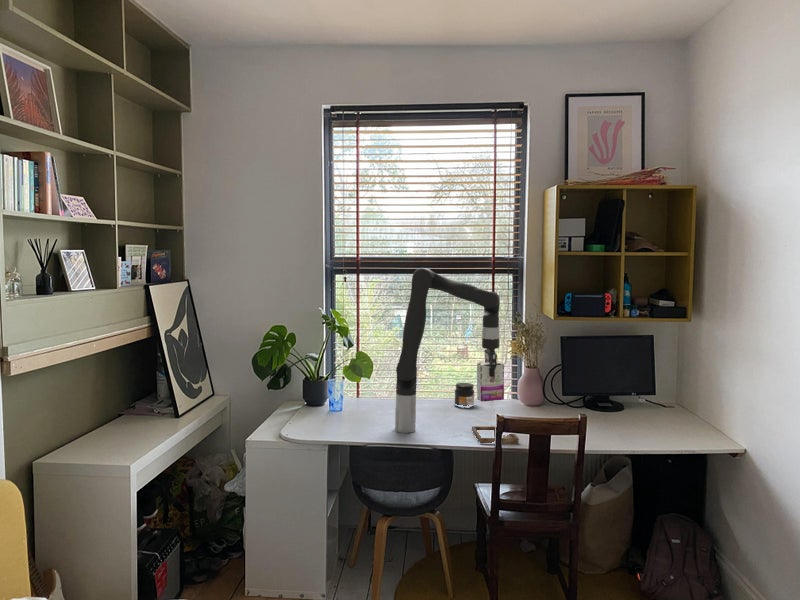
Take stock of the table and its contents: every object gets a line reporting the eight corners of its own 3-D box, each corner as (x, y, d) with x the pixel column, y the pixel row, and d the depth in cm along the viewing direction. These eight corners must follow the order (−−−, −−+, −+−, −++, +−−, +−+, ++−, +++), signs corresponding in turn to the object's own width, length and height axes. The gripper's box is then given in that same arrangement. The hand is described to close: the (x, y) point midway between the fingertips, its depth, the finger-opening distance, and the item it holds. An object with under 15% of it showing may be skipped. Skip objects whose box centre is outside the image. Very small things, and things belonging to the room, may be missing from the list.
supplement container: (472, 409, 290) (473, 387, 289) (453, 408, 292) (453, 386, 291) (474, 404, 300) (475, 383, 299) (455, 403, 302) (456, 381, 301)
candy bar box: (499, 397, 247) (499, 361, 245) (504, 400, 242) (504, 363, 241) (476, 399, 244) (476, 362, 242) (480, 401, 239) (481, 364, 238)
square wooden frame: (479, 444, 235) (479, 438, 235) (471, 431, 252) (471, 426, 252) (518, 444, 237) (518, 438, 236) (508, 431, 253) (508, 426, 253)
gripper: (478, 335, 248) (478, 372, 249) (485, 339, 233) (485, 378, 235) (495, 334, 248) (494, 371, 249) (503, 339, 234) (502, 378, 235)
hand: (490, 374), depth 242 cm, fingers closed on candy bar box, 5 cm apart
